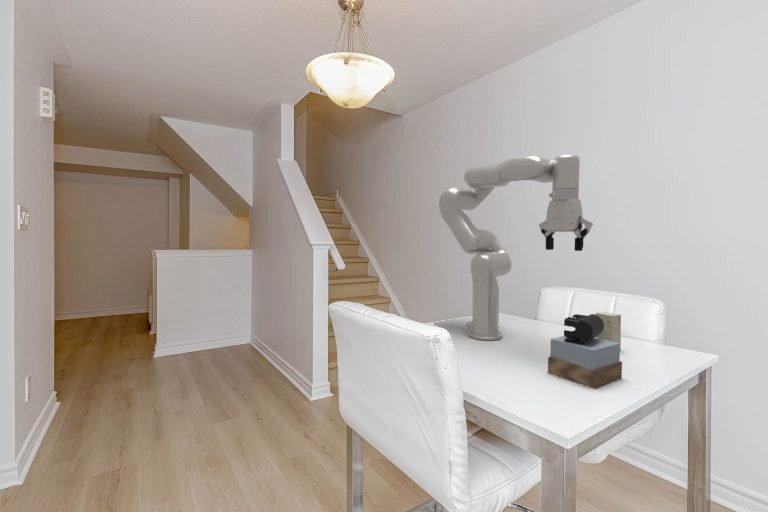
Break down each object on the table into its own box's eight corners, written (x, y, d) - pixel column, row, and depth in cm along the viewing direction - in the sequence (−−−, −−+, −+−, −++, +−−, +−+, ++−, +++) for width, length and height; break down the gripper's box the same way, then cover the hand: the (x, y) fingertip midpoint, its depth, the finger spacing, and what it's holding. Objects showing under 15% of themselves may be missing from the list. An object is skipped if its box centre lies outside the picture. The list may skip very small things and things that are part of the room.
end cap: (591, 347, 98) (592, 321, 98) (562, 341, 103) (563, 316, 103) (603, 339, 105) (604, 315, 105) (576, 335, 110) (577, 311, 110)
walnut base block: (547, 374, 106) (548, 357, 106) (574, 366, 113) (574, 349, 113) (595, 390, 95) (595, 371, 95) (621, 380, 102) (622, 361, 102)
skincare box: (621, 351, 126) (622, 314, 125) (611, 353, 124) (612, 315, 124) (603, 346, 132) (604, 311, 131) (594, 348, 130) (595, 312, 130)
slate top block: (550, 356, 106) (550, 338, 106) (576, 350, 112) (577, 333, 112) (592, 370, 96) (593, 350, 95) (619, 362, 102) (620, 343, 101)
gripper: (533, 197, 126) (532, 249, 127) (585, 192, 112) (583, 251, 113) (547, 198, 130) (546, 249, 131) (599, 194, 116) (597, 251, 117)
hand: (563, 250), depth 122 cm, fingers open, 9 cm apart
